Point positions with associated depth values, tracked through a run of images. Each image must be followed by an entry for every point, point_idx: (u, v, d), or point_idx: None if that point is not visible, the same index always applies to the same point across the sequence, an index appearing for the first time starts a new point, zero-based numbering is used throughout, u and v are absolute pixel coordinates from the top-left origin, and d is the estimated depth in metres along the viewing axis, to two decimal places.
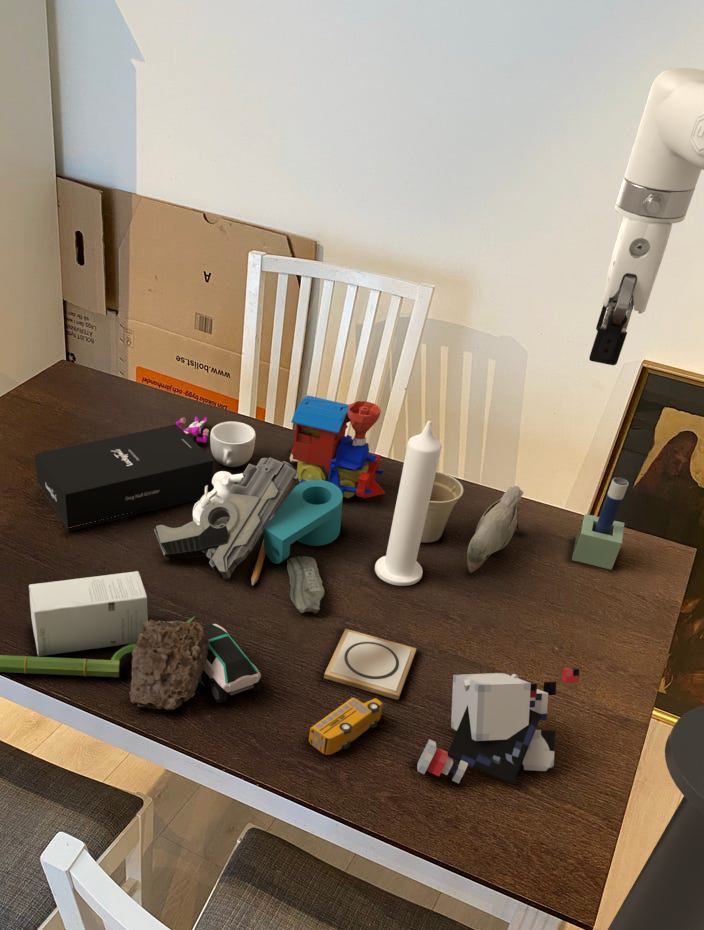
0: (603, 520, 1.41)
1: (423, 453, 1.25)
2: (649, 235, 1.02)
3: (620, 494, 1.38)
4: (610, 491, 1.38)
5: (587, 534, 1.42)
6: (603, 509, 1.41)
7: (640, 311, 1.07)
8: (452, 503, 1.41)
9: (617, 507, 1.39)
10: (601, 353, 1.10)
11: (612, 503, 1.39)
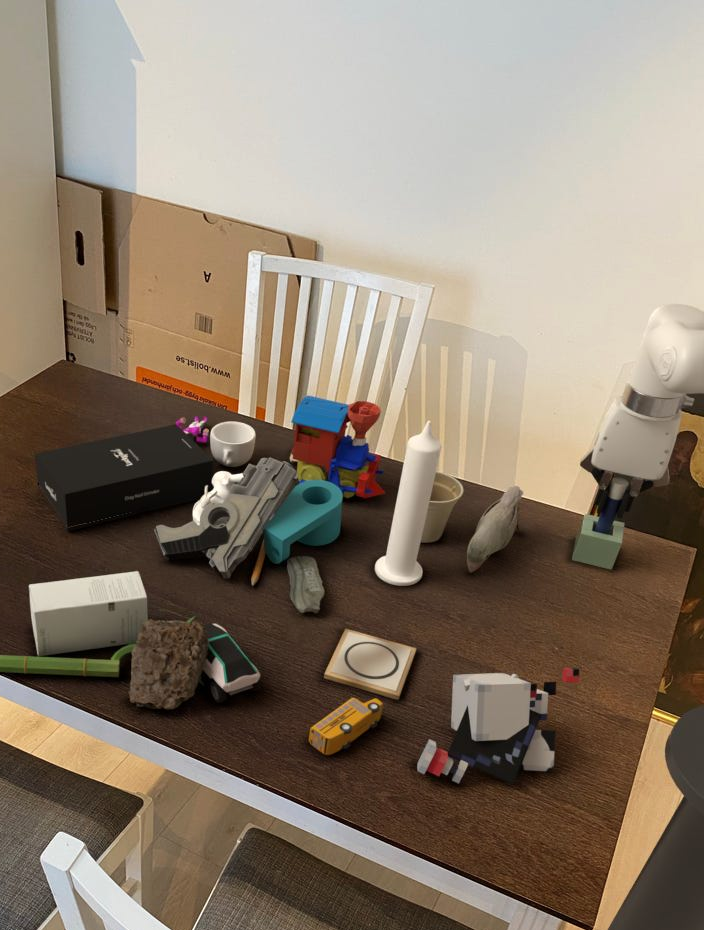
0: (603, 520, 1.41)
1: (423, 453, 1.25)
2: (680, 420, 1.30)
3: (620, 494, 1.38)
4: (610, 491, 1.38)
5: (587, 534, 1.42)
6: (603, 509, 1.41)
7: None
8: (452, 503, 1.41)
9: (617, 507, 1.39)
10: (629, 509, 1.39)
11: (612, 503, 1.39)
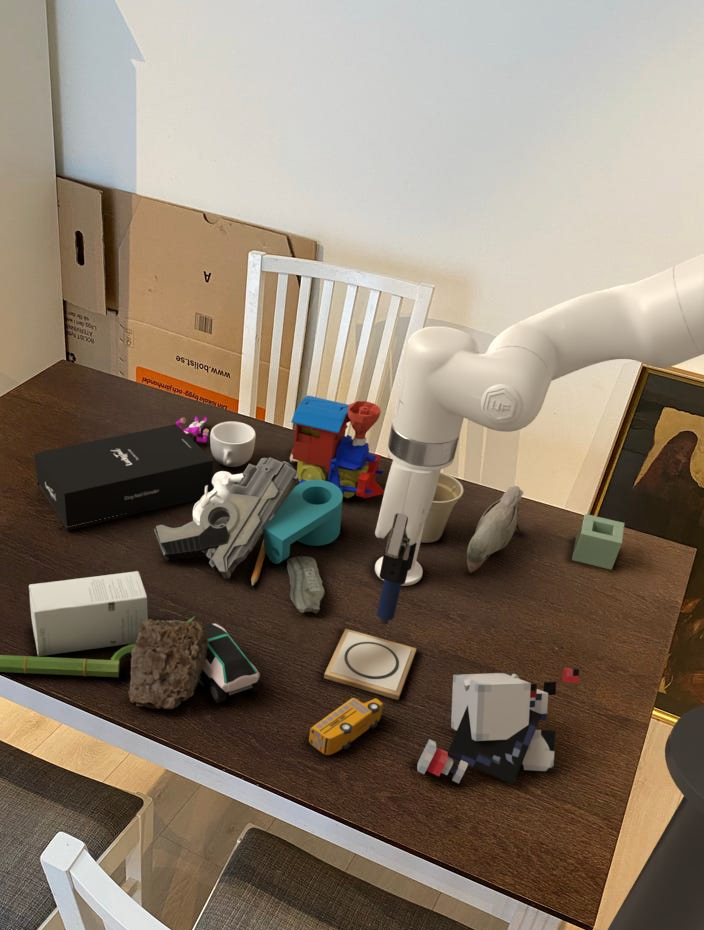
0: (399, 584, 1.17)
1: None
2: None
3: None
4: None
5: (587, 534, 1.42)
6: None
7: None
8: (452, 503, 1.41)
9: None
10: None
11: None
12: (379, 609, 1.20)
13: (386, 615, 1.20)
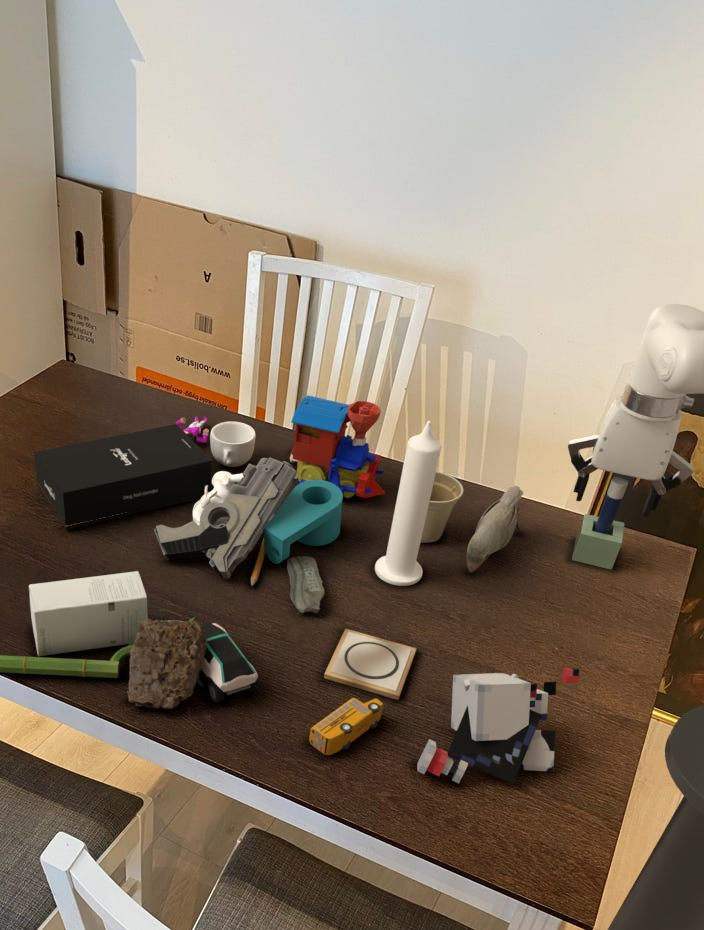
0: (603, 519, 1.41)
1: (423, 453, 1.25)
2: (680, 420, 1.30)
3: (620, 494, 1.38)
4: (610, 491, 1.38)
5: (587, 534, 1.42)
6: (603, 509, 1.41)
7: None
8: (452, 503, 1.41)
9: (617, 506, 1.40)
10: None
11: (611, 503, 1.39)
12: None
13: None
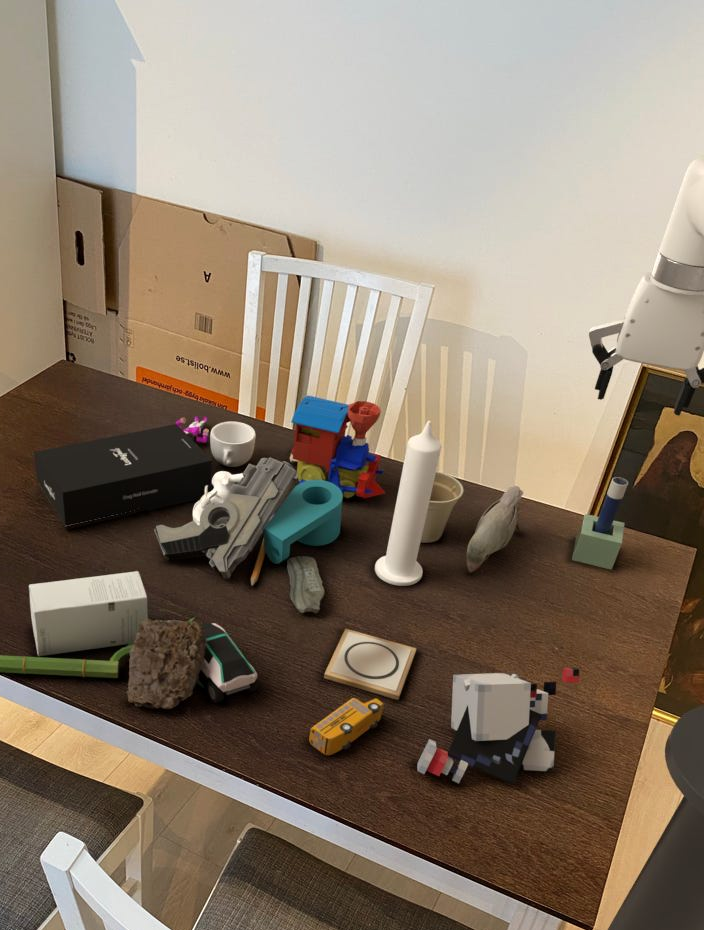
0: (603, 520, 1.41)
1: (423, 453, 1.25)
2: None
3: (620, 494, 1.38)
4: (610, 491, 1.38)
5: (587, 534, 1.42)
6: (603, 509, 1.41)
7: None
8: (452, 503, 1.41)
9: (617, 507, 1.40)
10: None
11: (611, 503, 1.39)
12: None
13: None
